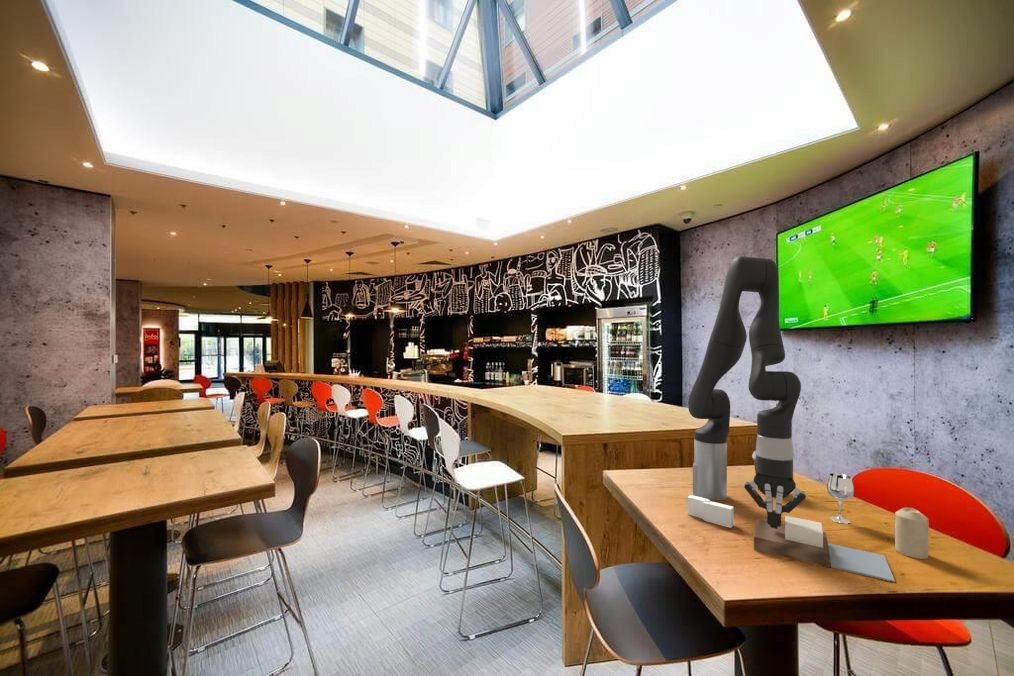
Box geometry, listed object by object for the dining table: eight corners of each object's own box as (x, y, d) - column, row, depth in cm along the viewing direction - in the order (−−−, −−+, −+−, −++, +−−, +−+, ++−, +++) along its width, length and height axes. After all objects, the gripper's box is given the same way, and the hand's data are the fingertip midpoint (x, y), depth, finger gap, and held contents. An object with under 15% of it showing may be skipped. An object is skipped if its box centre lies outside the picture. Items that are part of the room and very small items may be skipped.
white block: (785, 539, 97) (785, 526, 97) (785, 528, 103) (785, 515, 103) (823, 547, 93) (823, 534, 93) (821, 535, 99) (821, 522, 99)
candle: (932, 562, 93) (932, 516, 93) (898, 555, 96) (898, 511, 96) (924, 551, 98) (924, 508, 98) (892, 545, 101) (892, 503, 101)
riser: (754, 549, 98) (754, 536, 98) (757, 530, 108) (757, 518, 108) (829, 567, 90) (829, 553, 90) (825, 545, 100) (826, 532, 100)
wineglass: (858, 525, 111) (858, 480, 111) (833, 523, 112) (833, 478, 112) (845, 516, 116) (845, 473, 116) (822, 515, 118) (822, 472, 118)
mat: (831, 567, 91) (831, 565, 91) (827, 544, 101) (827, 543, 101) (894, 582, 85) (894, 580, 85) (884, 557, 95) (884, 555, 95)
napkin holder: (747, 531, 109) (747, 509, 109) (707, 534, 107) (707, 512, 107) (710, 508, 124) (710, 488, 124) (674, 510, 122) (674, 490, 122)
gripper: (740, 453, 102) (741, 525, 102) (808, 462, 94) (808, 540, 94) (744, 447, 108) (744, 515, 108) (807, 455, 100) (808, 528, 100)
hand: (774, 527), depth 101 cm, fingers closed
